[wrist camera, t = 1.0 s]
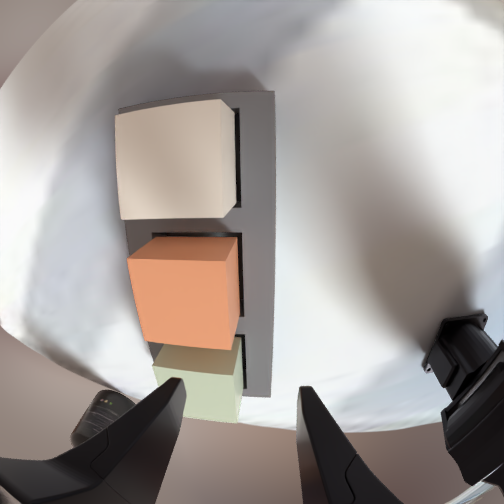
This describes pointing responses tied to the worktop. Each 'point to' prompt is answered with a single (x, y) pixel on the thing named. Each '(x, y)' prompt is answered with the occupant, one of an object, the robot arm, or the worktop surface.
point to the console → (239, 228)
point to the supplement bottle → (100, 415)
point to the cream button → (176, 161)
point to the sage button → (205, 379)
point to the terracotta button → (187, 290)
